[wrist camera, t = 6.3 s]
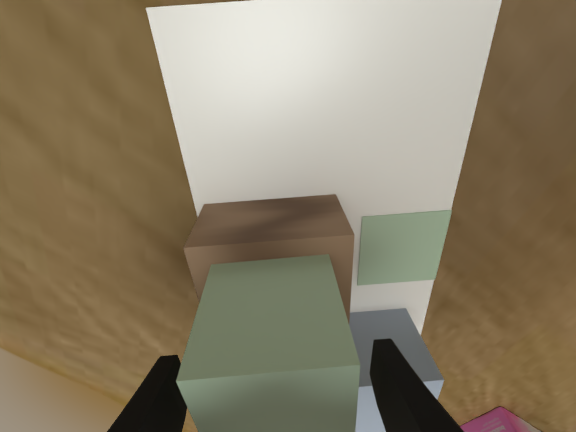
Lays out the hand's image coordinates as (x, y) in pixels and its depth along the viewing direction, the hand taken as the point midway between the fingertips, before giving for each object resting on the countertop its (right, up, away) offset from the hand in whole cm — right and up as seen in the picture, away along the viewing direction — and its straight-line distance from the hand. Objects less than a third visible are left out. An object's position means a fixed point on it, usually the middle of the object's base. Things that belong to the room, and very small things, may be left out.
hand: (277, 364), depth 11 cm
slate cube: (+6, -3, +10) cm, 12 cm away
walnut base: (0, +3, +6) cm, 7 cm away
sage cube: (0, +2, +3) cm, 3 cm away
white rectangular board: (+3, +3, +7) cm, 8 cm away
